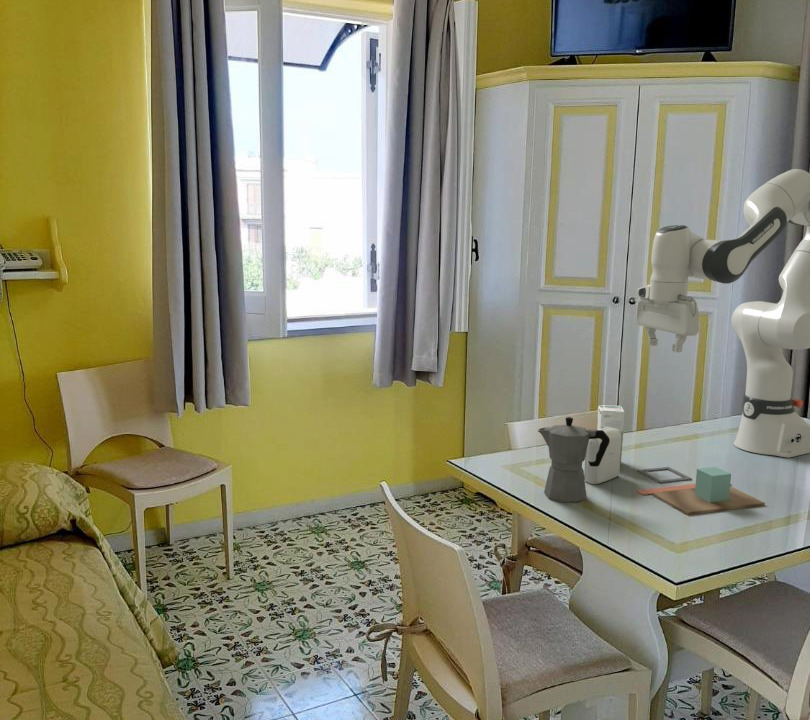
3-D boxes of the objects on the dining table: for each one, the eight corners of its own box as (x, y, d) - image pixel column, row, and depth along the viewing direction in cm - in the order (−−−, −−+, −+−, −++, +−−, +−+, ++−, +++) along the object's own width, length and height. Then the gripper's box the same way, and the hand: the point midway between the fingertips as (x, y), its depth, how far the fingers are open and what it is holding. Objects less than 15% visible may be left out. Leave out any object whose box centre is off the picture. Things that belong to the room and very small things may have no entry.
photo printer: (596, 486, 184) (599, 434, 182) (581, 481, 187) (584, 430, 185) (621, 476, 191) (625, 426, 188) (606, 472, 194) (609, 423, 192)
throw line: (724, 481, 188) (724, 480, 188) (731, 485, 186) (731, 483, 186) (636, 491, 181) (636, 490, 181) (642, 495, 179) (642, 494, 178)
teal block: (713, 492, 179) (715, 466, 178) (728, 500, 175) (731, 473, 173) (694, 494, 178) (696, 468, 177) (709, 502, 173) (712, 476, 172)
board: (726, 487, 185) (726, 484, 185) (764, 505, 173) (764, 502, 173) (652, 495, 178) (652, 493, 178) (687, 515, 167) (687, 512, 167)
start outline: (668, 467, 198) (668, 466, 198) (691, 479, 189) (692, 478, 189) (637, 471, 195) (637, 470, 195) (659, 483, 186) (659, 482, 186)
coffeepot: (533, 499, 175) (536, 420, 171) (537, 485, 184) (540, 409, 180) (605, 507, 171) (610, 426, 168) (606, 492, 180) (611, 415, 177)
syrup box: (617, 460, 203) (621, 404, 201) (621, 467, 198) (625, 410, 195) (594, 459, 204) (597, 403, 201) (597, 466, 198) (601, 409, 195)
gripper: (707, 297, 186) (703, 355, 189) (653, 288, 205) (650, 341, 208) (685, 298, 184) (681, 356, 187) (632, 289, 203) (629, 342, 206)
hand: (664, 348), depth 198 cm, fingers open, 8 cm apart
